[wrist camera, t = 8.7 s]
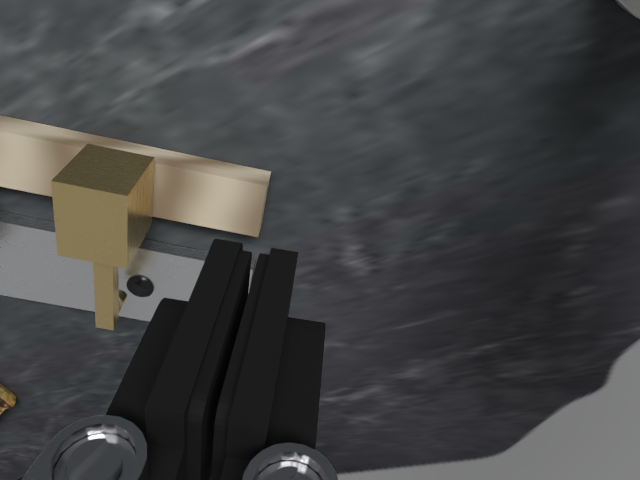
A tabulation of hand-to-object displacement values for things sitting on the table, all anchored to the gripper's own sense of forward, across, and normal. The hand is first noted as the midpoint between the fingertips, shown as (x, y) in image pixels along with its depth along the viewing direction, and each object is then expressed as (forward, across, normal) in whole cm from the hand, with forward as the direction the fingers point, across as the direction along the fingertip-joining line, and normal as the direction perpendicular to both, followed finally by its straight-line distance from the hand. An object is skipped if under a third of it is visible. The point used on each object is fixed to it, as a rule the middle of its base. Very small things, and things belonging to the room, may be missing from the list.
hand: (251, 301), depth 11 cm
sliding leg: (+20, +11, +14) cm, 27 cm away
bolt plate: (+22, +15, +20) cm, 33 cm away
